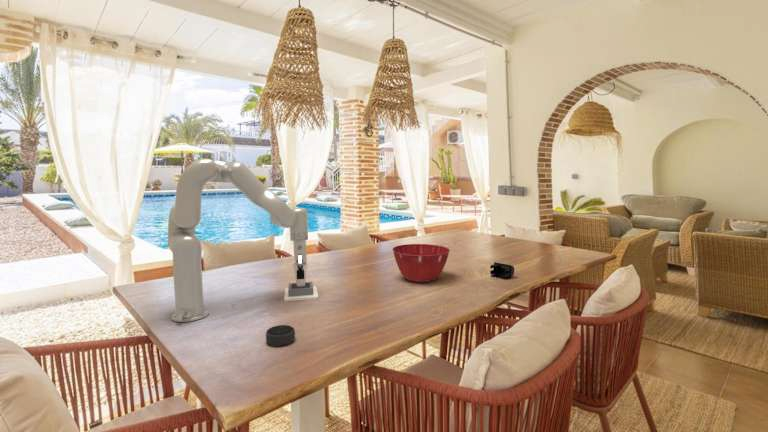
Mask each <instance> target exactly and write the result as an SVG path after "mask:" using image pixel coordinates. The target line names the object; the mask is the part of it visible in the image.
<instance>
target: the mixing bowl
mask: <svg viewBox="0 0 768 432" xmlns="http://www.w3.org/2000/svg"><path fill="white" fill-rule="evenodd" d="M392 252H393V257H394V259H395V262H396V266H397V268H398V269H399V272H400V274H401V275H402V276H403V278H405V279H407V280H408V281H410V282H414V283H421V284H422V283H430V282H433V281H434V280H436V279H438V278H439V277H440V275H441V274H442V272H443V270H444V268H445V265H446V264H447V260H448V257H449V253H450V252H451V249H450V248H448V247H446V246H443V245H437V244H430V243H429V244H428V243H427V244H426V243H408V244H406V243H405V244H400V245H396V246H394V247H393V248H392Z"/></svg>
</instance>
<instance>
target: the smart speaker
mask: <svg viewBox="0 0 768 432" xmlns="http://www.w3.org/2000/svg"><path fill="white" fill-rule="evenodd" d="M295 338H296V331H295V328H294V327H293V326H291V325H287V324H282V325H274V326H272V327H270V328H268V329H267V330H266V332H265V341H266V343H267V344H268V345H270V346H272V347H281V346H282V347H283V346H288V345H289V344H292V343H293V342H294V341H295Z"/></svg>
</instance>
